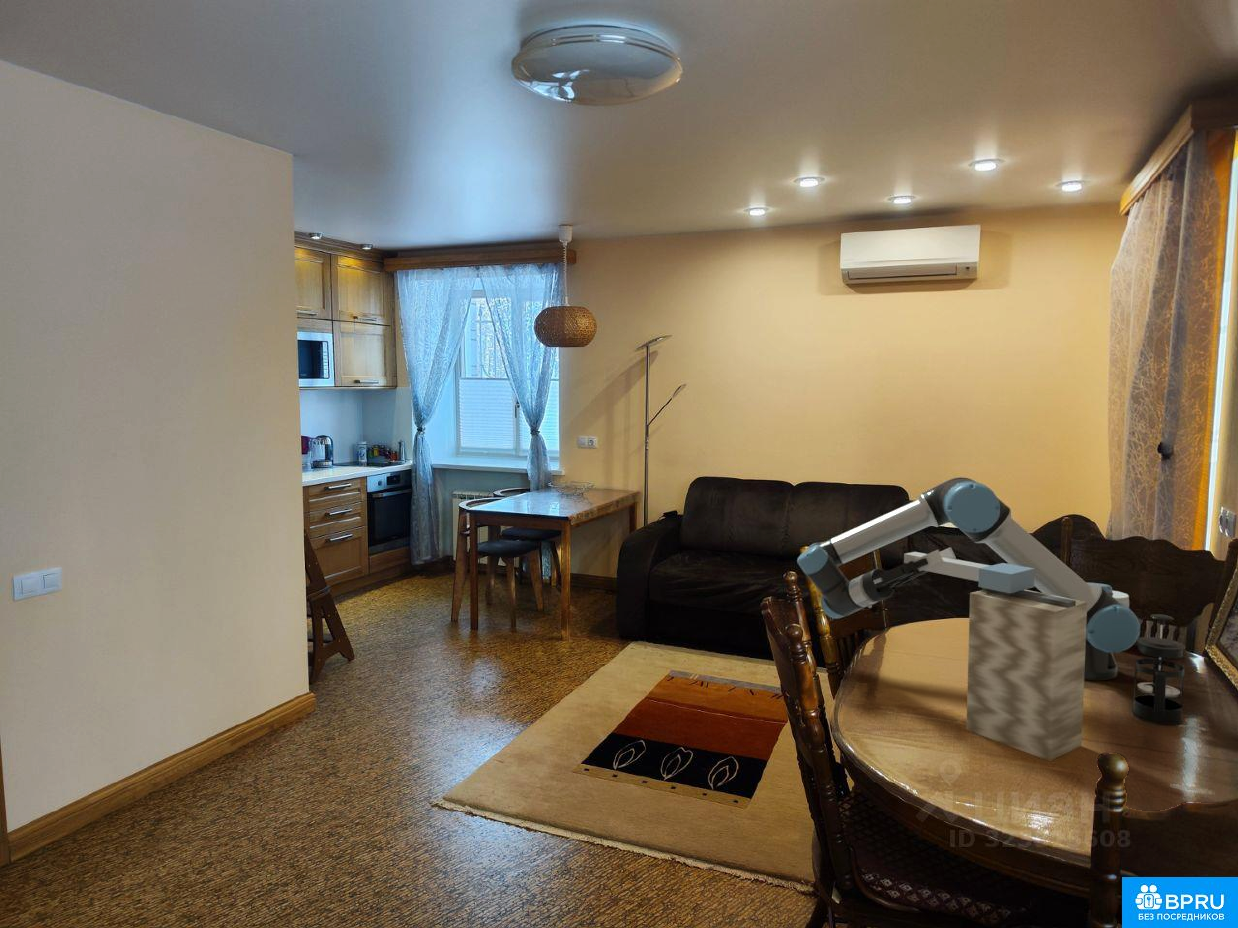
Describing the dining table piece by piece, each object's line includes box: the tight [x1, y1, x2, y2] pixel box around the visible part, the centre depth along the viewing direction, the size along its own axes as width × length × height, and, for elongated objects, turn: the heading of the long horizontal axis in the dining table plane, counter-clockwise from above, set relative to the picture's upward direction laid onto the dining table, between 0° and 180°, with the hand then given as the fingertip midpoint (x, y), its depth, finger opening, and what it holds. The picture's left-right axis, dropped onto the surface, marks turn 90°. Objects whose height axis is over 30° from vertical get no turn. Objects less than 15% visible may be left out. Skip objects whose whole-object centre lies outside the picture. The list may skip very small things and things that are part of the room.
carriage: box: [903, 551, 1035, 593], centre depth 177 cm, size 28×9×4 cm, turn 33°
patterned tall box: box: [966, 587, 1087, 762], centre depth 166 cm, size 18×12×31 cm, turn 33°
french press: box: [1131, 613, 1186, 727], centre depth 176 cm, size 12×9×23 cm
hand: (946, 554), depth 180 cm, fingers closed on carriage, 4 cm apart
